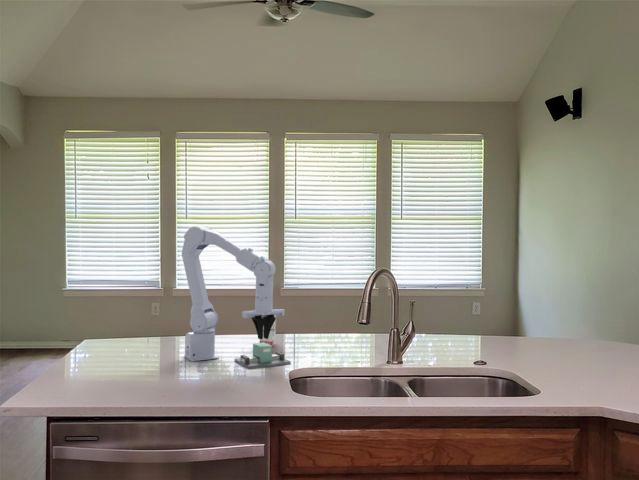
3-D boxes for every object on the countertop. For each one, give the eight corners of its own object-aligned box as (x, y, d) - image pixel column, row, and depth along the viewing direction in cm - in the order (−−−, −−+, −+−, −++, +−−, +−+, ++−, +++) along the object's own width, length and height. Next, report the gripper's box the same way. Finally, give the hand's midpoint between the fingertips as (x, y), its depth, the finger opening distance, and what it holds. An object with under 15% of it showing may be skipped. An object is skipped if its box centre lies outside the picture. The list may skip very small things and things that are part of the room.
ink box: (272, 348, 200) (273, 316, 200) (259, 348, 200) (259, 315, 200) (275, 343, 209) (276, 312, 208) (262, 343, 209) (263, 312, 209)
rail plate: (248, 368, 170) (248, 360, 170) (234, 361, 179) (234, 353, 179) (290, 363, 178) (290, 355, 178) (275, 356, 187) (275, 349, 187)
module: (260, 362, 175) (261, 347, 175) (252, 358, 180) (253, 343, 180) (271, 361, 177) (272, 346, 177) (263, 357, 182) (264, 342, 182)
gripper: (248, 299, 171) (247, 342, 171) (289, 297, 179) (288, 338, 179) (239, 297, 177) (238, 338, 177) (279, 295, 185) (278, 335, 185)
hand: (263, 338), depth 178 cm, fingers closed
